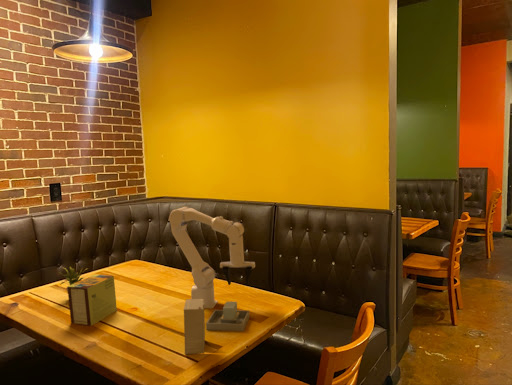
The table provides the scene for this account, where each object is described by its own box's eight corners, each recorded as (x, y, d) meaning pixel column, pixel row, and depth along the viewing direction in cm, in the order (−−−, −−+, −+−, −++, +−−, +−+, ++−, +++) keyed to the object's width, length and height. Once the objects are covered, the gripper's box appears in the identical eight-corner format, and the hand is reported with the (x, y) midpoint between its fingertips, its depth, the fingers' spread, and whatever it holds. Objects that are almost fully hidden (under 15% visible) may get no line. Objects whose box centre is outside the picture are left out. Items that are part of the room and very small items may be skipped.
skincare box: (186, 342, 130) (183, 298, 129) (207, 340, 131) (204, 297, 129) (184, 355, 122) (180, 309, 120) (206, 353, 123) (203, 307, 121)
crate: (206, 331, 138) (206, 323, 138) (215, 316, 150) (214, 309, 150) (243, 332, 136) (243, 324, 136) (249, 317, 148) (249, 310, 147)
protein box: (117, 310, 161) (114, 275, 160) (91, 326, 147) (87, 288, 145) (97, 308, 165) (94, 273, 163) (70, 323, 150) (66, 286, 148)
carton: (223, 318, 139) (222, 308, 139) (227, 311, 145) (226, 301, 145) (233, 318, 139) (233, 308, 138) (237, 311, 144) (236, 301, 144)
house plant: (49, 303, 172) (45, 269, 171) (73, 292, 185) (70, 260, 183) (72, 307, 167) (68, 271, 165) (95, 295, 180) (92, 262, 178)
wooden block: (220, 327, 139) (220, 318, 139) (224, 320, 145) (224, 311, 145) (236, 328, 138) (236, 319, 138) (240, 320, 144) (239, 312, 144)
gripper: (217, 255, 152) (219, 287, 154) (252, 254, 150) (254, 287, 151) (221, 250, 159) (223, 281, 161) (255, 250, 157) (256, 281, 158)
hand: (238, 284), depth 156 cm, fingers open, 7 cm apart
